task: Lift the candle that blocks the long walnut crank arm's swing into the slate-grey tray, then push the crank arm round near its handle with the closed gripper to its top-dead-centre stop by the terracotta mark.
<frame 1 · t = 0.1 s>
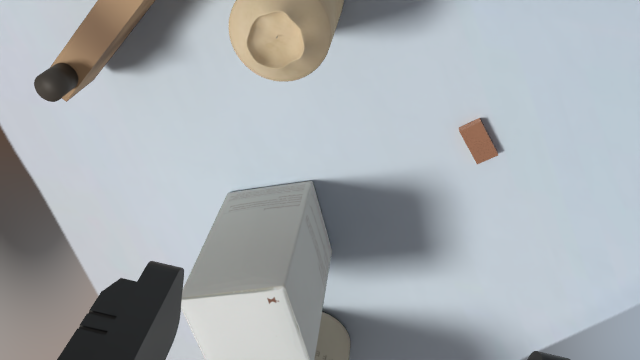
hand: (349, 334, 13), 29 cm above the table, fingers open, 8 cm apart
travel mug: (308, 336, 54), on the table
supplement box: (281, 221, 48), on the table
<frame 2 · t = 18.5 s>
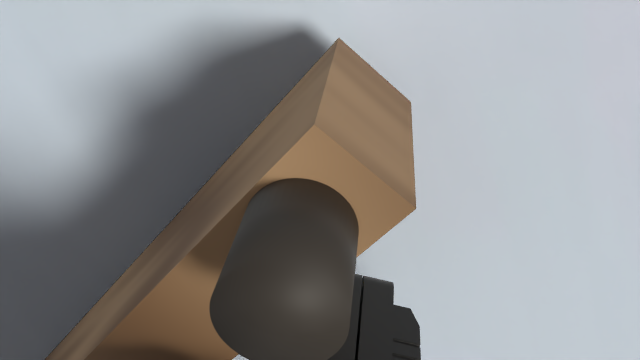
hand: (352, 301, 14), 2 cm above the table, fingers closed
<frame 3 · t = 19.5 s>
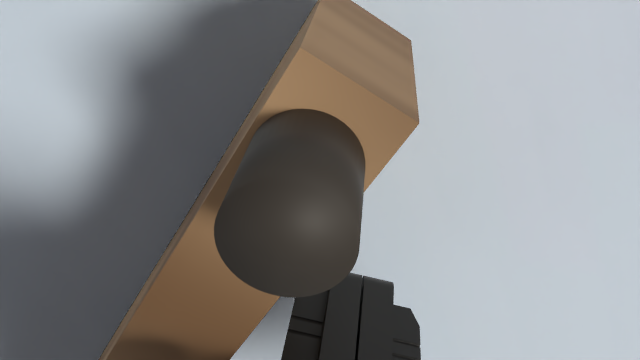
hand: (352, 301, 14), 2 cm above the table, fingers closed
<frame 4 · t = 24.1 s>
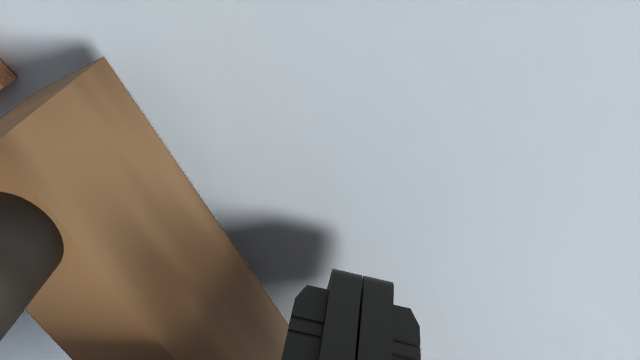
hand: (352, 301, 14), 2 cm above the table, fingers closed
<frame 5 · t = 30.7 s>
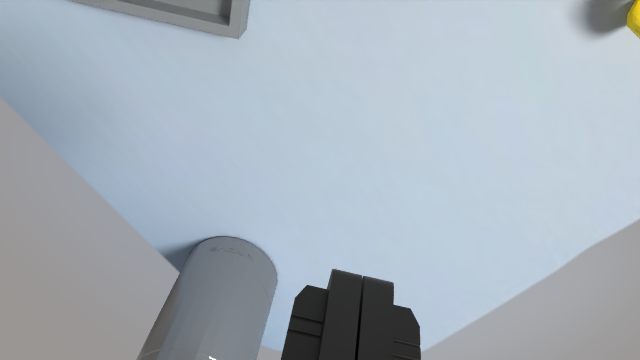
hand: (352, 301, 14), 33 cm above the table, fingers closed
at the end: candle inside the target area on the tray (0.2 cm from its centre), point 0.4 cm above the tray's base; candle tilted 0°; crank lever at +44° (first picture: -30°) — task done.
